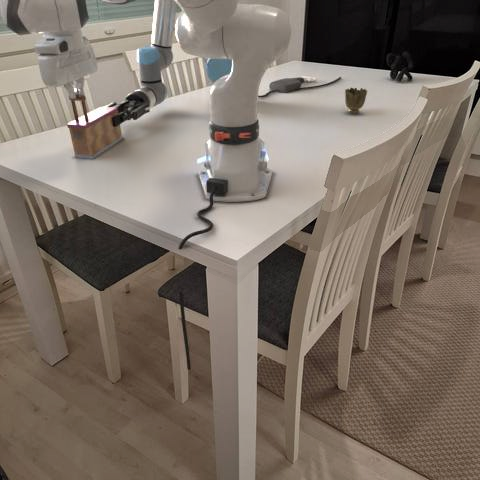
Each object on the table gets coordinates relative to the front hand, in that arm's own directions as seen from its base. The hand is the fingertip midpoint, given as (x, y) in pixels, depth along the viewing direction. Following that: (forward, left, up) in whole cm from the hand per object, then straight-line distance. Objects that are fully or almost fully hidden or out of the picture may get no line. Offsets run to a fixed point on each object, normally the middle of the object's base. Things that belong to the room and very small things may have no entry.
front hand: (77, 96), depth 120 cm
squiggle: (+84, -117, -16) cm, 145 cm away
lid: (+5, -2, -8) cm, 10 cm away
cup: (+35, -85, -16) cm, 93 cm away
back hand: (+10, -3, -10) cm, 15 cm away
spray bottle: (+77, -68, -16) cm, 104 cm away
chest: (+6, -2, -16) cm, 17 cm away
